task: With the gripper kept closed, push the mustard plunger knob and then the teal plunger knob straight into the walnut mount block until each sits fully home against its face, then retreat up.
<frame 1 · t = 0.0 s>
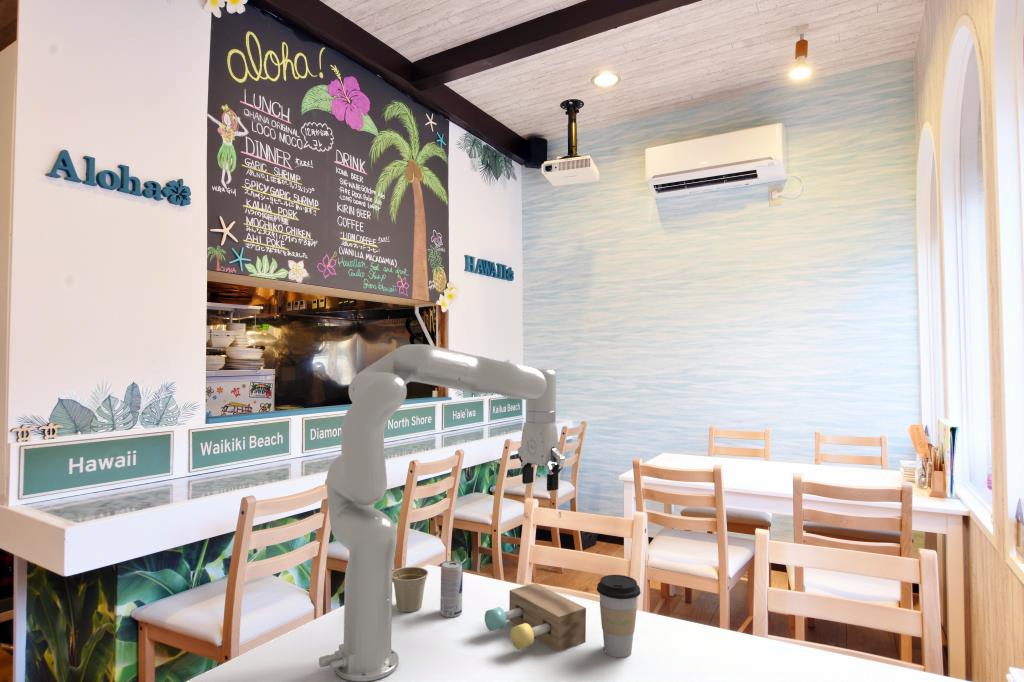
hand: (539, 486, 150), 31 cm above the table, fingers open, 9 cm apart
coffee cup: (617, 651, 130), on the table
knob b: (536, 630, 131), point 4 cm above the table, slide at 5.0 cm
mount: (546, 631, 139), on the table
knob a: (509, 614, 139), point 4 cm above the table, slide at 5.0 cm
flower pot: (408, 608, 151), on the table
energy drink: (451, 614, 148), on the table
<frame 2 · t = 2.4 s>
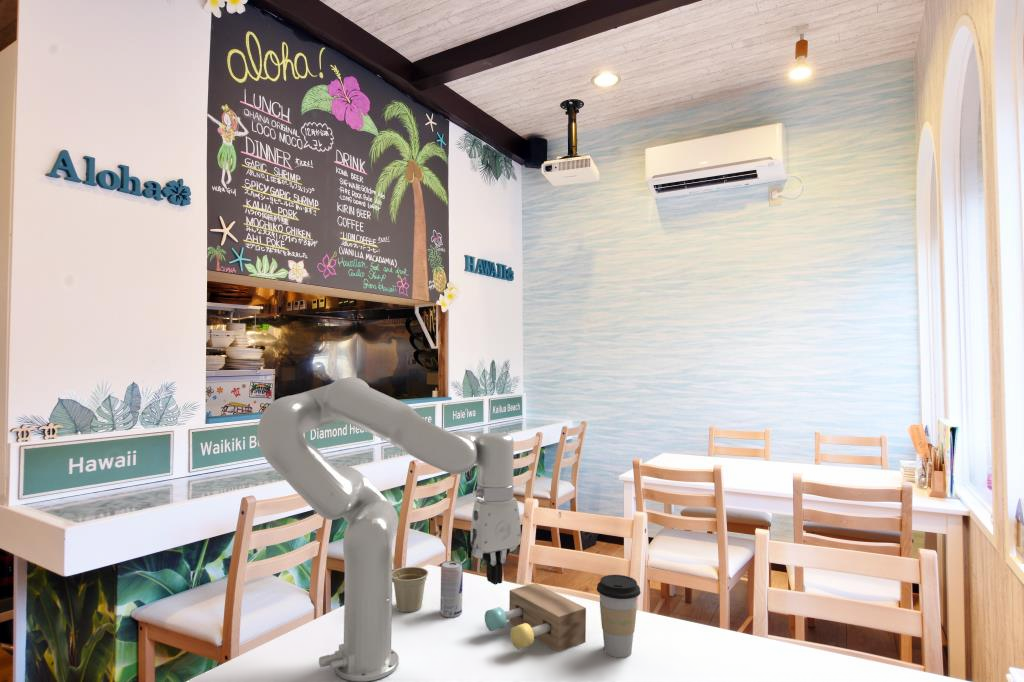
hand: (494, 581, 124), 17 cm above the table, fingers closed
nothing on the table moved.
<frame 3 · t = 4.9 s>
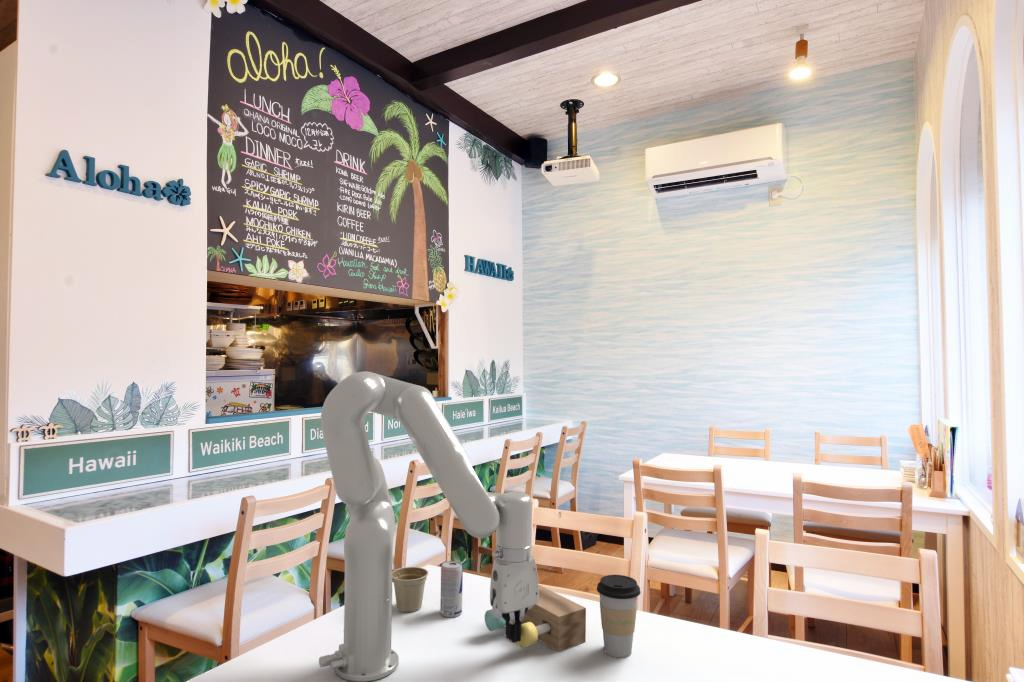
hand: (513, 639, 127), 4 cm above the table, fingers closed
knob b: (540, 629, 132), point 4 cm above the table, slide at 3.9 cm, touching gripper
everything else where it was.
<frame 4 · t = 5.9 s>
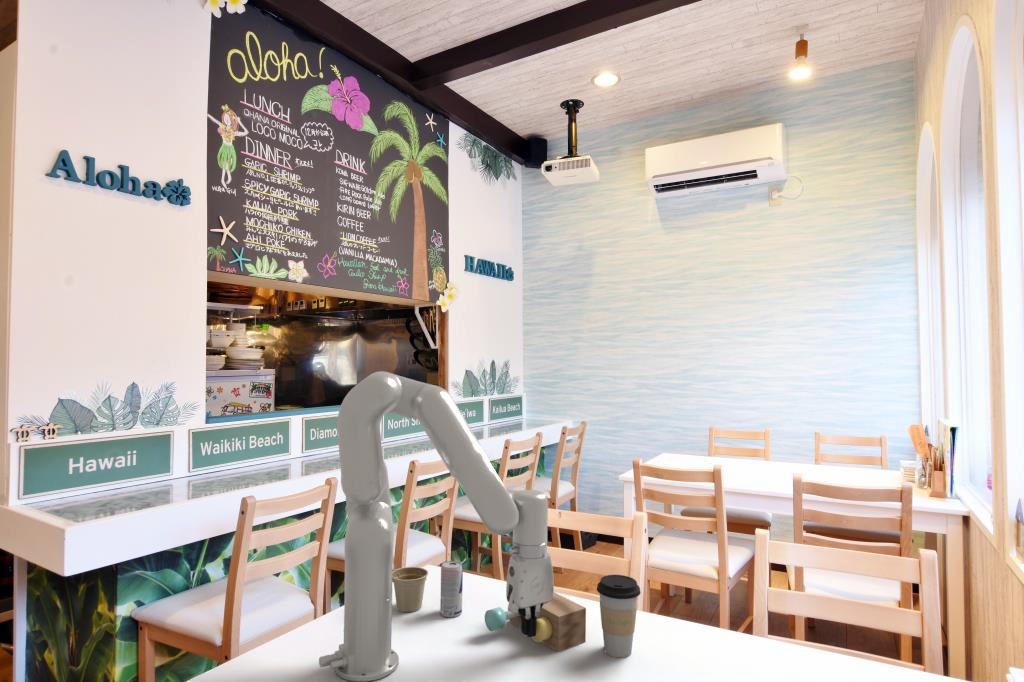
hand: (528, 634, 129), 4 cm above the table, fingers closed
knob b: (554, 624, 134), point 4 cm above the table, slide at -0.2 cm, touching gripper
everything else where it was.
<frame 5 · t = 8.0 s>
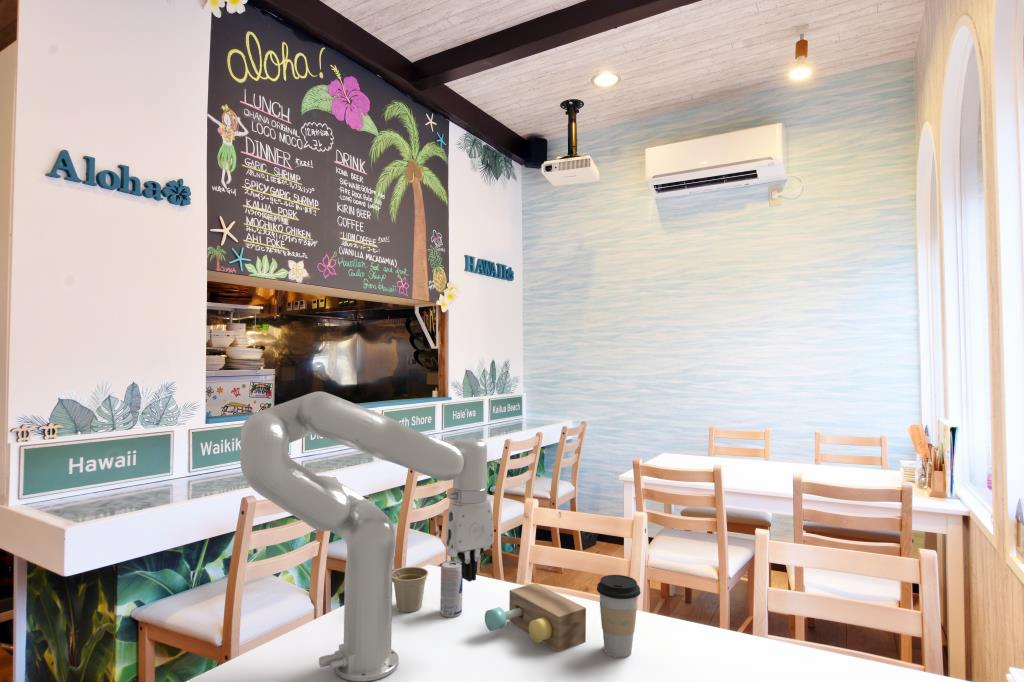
hand: (468, 578, 132), 14 cm above the table, fingers closed
knob b: (554, 625, 134), point 4 cm above the table, slide at 0.0 cm
everything else where it was.
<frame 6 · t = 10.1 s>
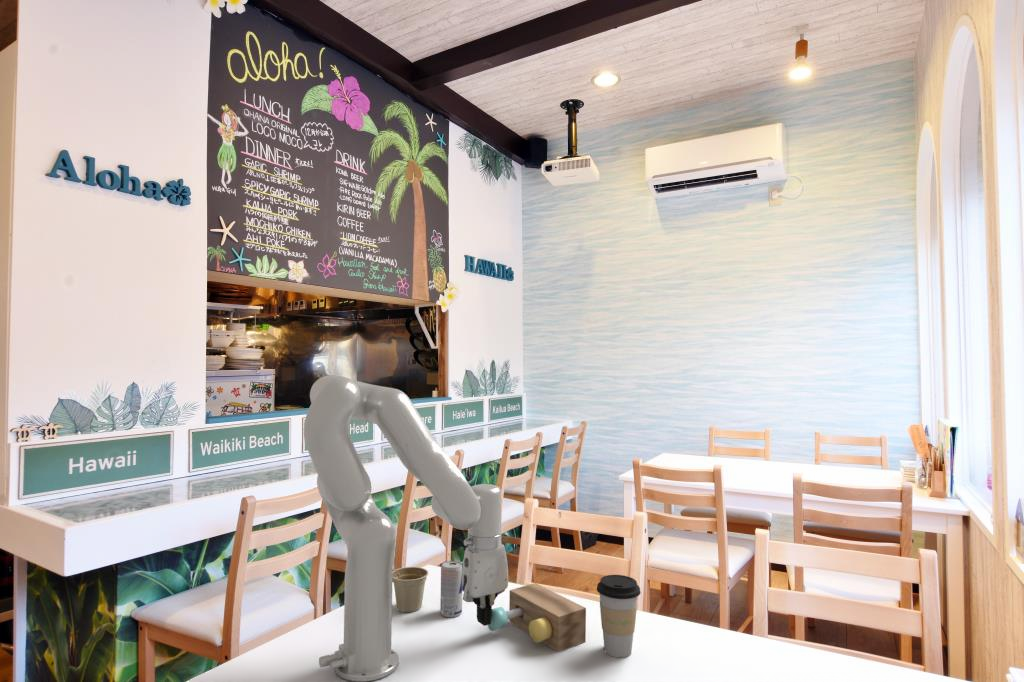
hand: (484, 622, 135), 4 cm above the table, fingers closed
knob a: (510, 614, 139), point 4 cm above the table, slide at 4.7 cm, touching gripper
everything else where it was.
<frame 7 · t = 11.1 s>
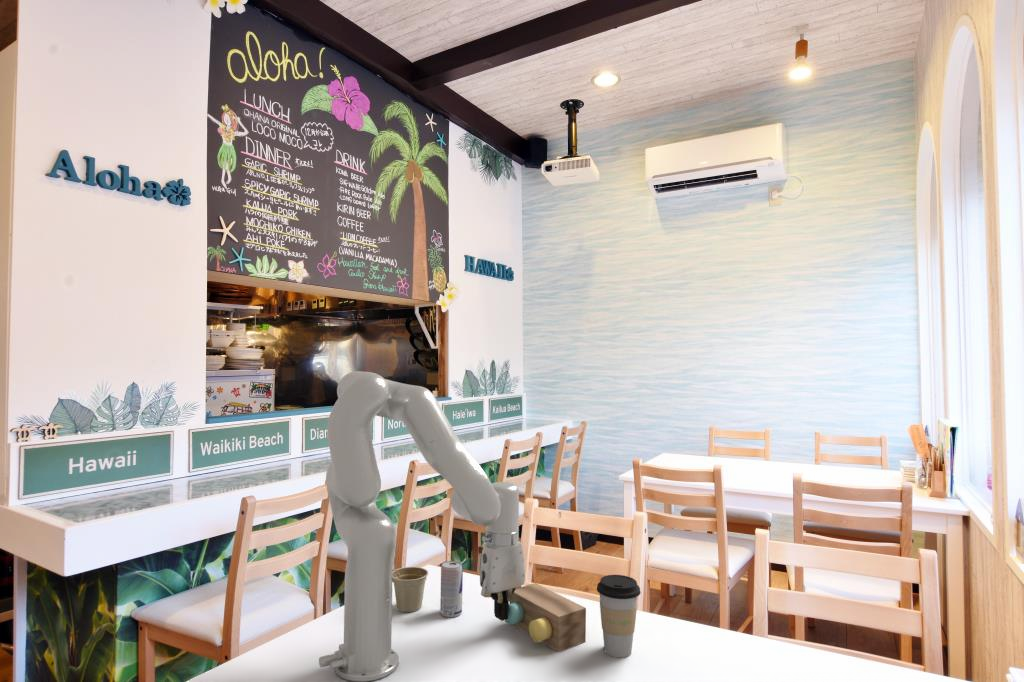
hand: (501, 617, 137), 4 cm above the table, fingers closed
knob a: (526, 609, 142), point 4 cm above the table, slide at -0.1 cm, touching gripper
everything else where it was.
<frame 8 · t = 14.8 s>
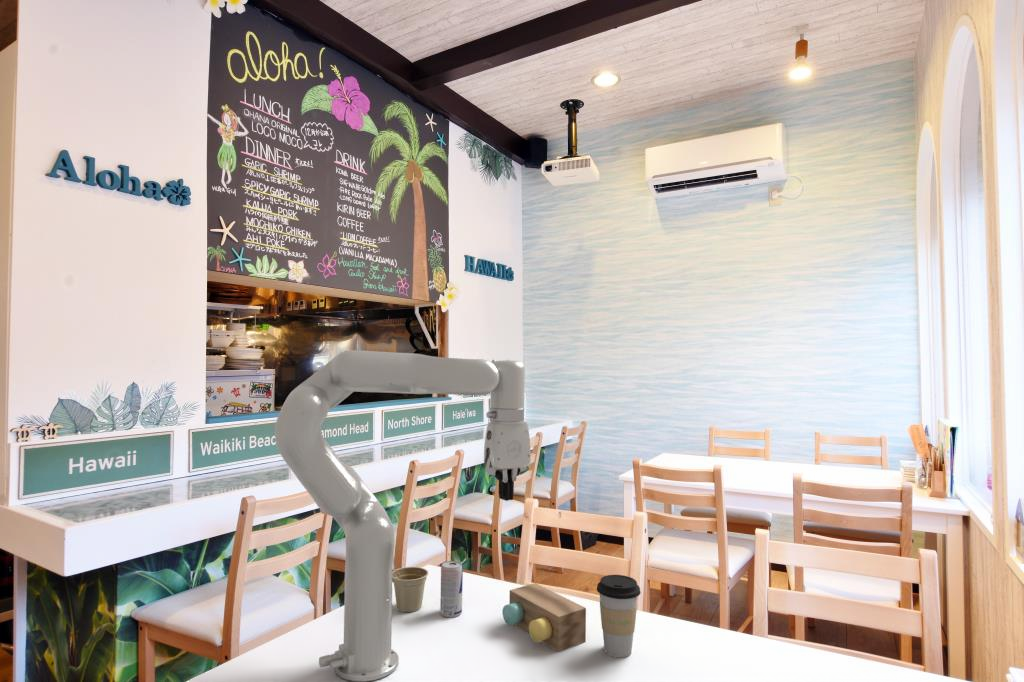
hand: (506, 498, 133), 32 cm above the table, fingers closed
knob a: (526, 609, 142), point 4 cm above the table, slide at 0.0 cm
everything else where it was.
at the end: knob b slide at 0.0 cm; knob a slide at 0.0 cm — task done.
